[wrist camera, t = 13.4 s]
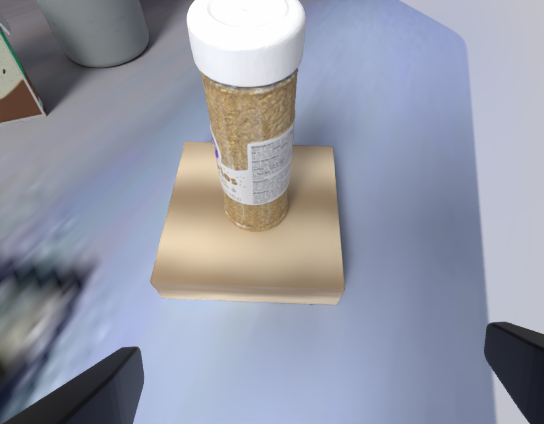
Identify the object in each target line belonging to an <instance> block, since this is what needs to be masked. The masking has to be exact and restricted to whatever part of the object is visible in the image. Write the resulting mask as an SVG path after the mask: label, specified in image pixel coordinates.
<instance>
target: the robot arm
mask: <svg viewBox="0 0 544 424" xmlns="http://www.w3.org/2000/svg"><path fill="white" fill-rule="evenodd" d="M484 354H485V358H486V360H487V362H488V363H489V365H490V366H491V368H492V369H493V371H494V372H495V374H496V375H497V377H498V378H499V380H500V381H501V383H502V384H503V386H504V387H505V389H506V390H507V392H508V393H509V395H510V396H511V398H512V399H513V401H514V402H515V404H516V405H517V407H518V408H519V409H520V411H521V412H522V414H523V415H524V416H525V418H526V419H527V421H528V422H529V423H530V424H544V334H541V333H538V332H535V331H532V330H529V329H526V328H523V327H520V326H517V325H514V324H511V323H508V322H493V323H489V324H488V325H487V328H486V336H485V346H484ZM143 384H144V371H143V364H142V357H141V351H140V349H139V348H138V347H123V348H120V349H119V350H117V351H116V352H114V353H112V354H111V355H109V356H108V357H106V358H105V359H103V360H102V361H100V362H98V363H97V364H95V365H94V366H92V367H91V368H89V369H87V370H86V371H84V372H83V373H81V374H80V375H78V376H76V377H75V378H73V379H72V380H70V381H69V382H67V383H66V384H64V385H62V386H61V387H59V388H58V389H56V390H55V391H53V392H51V393H50V394H48V395H47V396H45V397H44V398H42V399H40V400H39V401H37V402H36V403H34V404H33V405H31V406H29V407H28V408H26V409H25V410H23V411H22V412H20V413H19V414H17V415H15V416H14V417H12V418H11V419H9V420H8V421H6V422H4V423H3V424H133V421H134V417H135V414H136V410H137V407H138V403H139V399H140V396H141V392H142V388H143Z"/></svg>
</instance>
